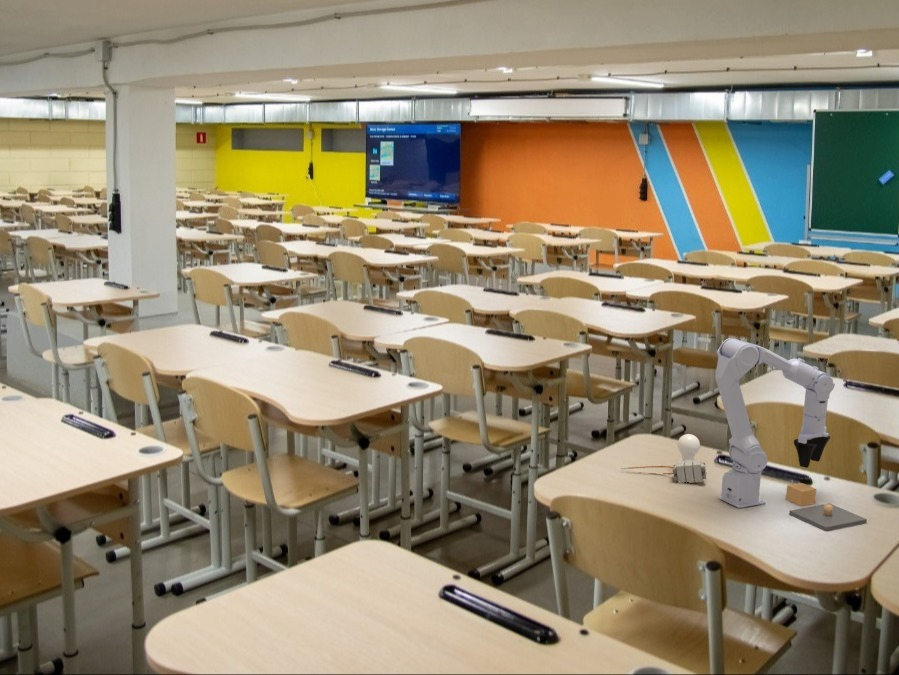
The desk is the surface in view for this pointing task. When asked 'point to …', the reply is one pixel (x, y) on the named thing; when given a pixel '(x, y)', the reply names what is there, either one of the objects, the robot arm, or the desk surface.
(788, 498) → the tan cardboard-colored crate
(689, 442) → the lightbulb
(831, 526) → the plate
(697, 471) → the electrical component
